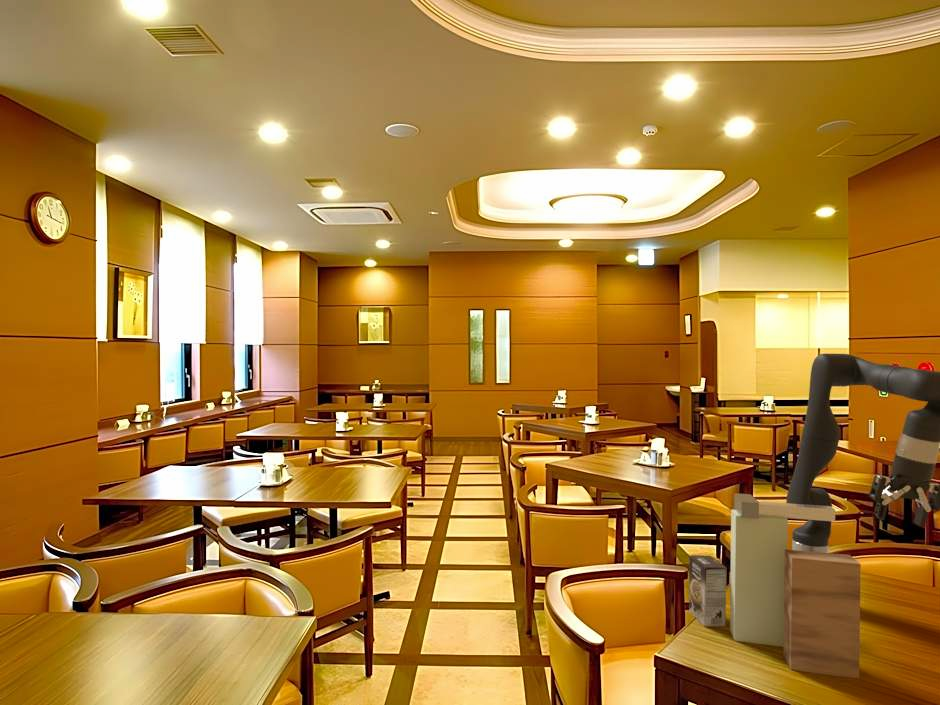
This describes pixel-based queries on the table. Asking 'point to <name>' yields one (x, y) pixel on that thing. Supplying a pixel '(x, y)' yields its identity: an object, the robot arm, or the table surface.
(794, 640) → the wood grain post
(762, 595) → the beige tall block
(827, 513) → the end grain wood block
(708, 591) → the coffee box
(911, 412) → the robot arm
